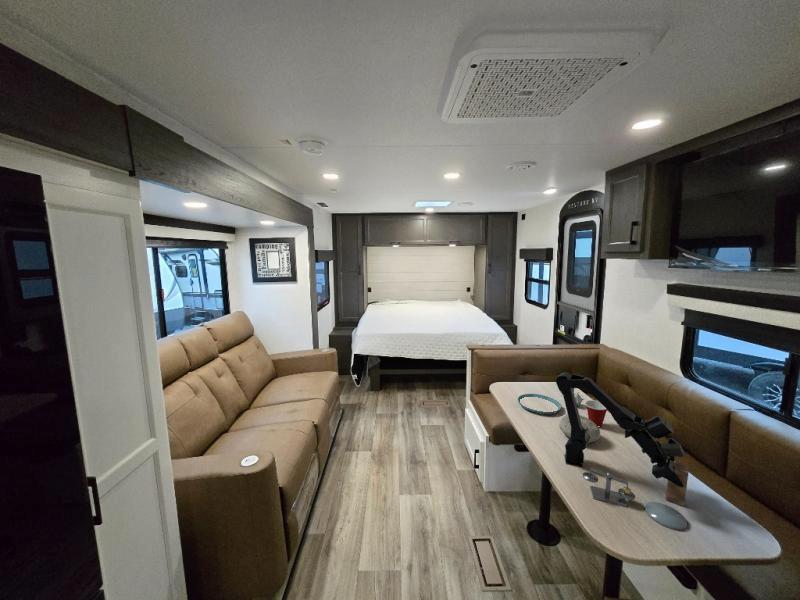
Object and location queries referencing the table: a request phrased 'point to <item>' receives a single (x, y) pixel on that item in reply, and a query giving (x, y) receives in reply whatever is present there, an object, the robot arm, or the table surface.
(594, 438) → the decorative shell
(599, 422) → the plastic cup
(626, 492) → the balance
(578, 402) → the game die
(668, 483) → the walnut block
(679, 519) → the slate dish
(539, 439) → the table surface
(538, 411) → the teal ring
